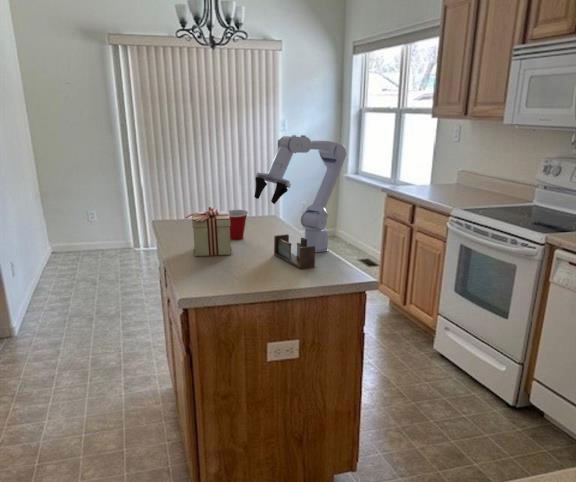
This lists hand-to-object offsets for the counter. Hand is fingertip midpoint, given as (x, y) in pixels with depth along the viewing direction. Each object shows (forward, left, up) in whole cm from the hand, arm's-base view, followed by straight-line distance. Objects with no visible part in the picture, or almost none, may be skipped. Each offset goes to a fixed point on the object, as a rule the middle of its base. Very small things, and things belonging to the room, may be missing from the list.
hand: (264, 200), depth 196 cm
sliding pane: (-13, +8, -22) cm, 27 cm away
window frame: (-11, +3, -24) cm, 26 cm away
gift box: (+14, -23, -24) cm, 36 cm away
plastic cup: (-5, -40, -24) cm, 47 cm away
